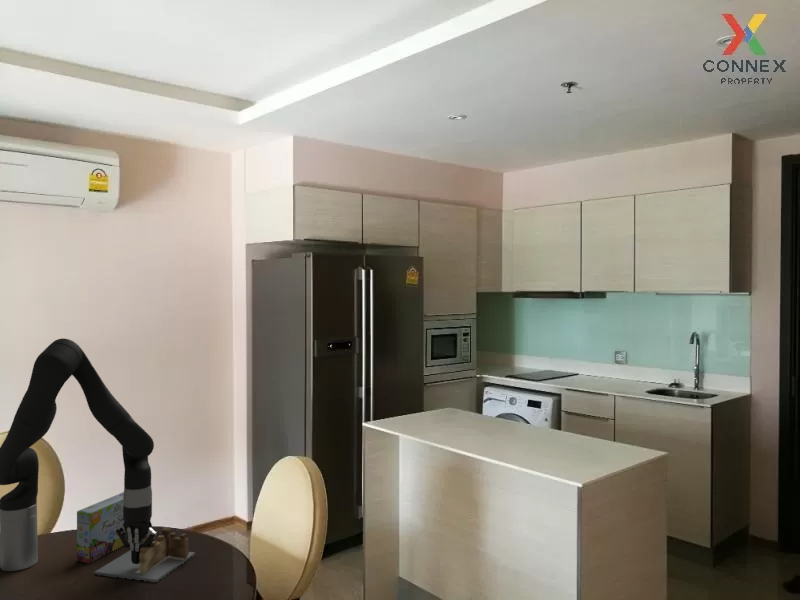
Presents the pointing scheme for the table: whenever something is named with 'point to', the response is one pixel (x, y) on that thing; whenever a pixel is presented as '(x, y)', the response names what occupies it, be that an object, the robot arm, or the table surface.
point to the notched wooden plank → (176, 544)
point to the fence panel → (152, 554)
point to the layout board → (128, 570)
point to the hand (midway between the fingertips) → (137, 562)
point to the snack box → (99, 529)
